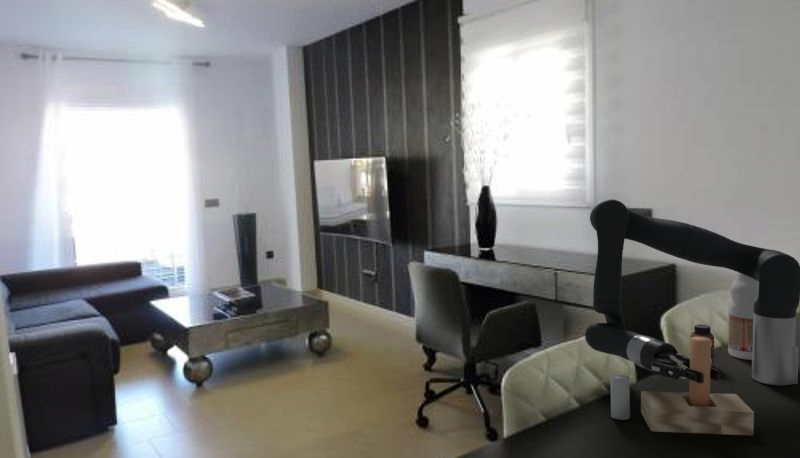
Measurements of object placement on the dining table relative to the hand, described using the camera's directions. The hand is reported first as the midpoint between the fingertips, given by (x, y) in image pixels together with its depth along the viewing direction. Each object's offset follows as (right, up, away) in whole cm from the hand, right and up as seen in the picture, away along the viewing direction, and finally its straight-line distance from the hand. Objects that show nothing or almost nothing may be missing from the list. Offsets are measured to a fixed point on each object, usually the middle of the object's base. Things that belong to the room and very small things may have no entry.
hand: (710, 377), depth 127 cm
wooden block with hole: (-1, -11, +4) cm, 12 cm away
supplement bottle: (+18, -7, +40) cm, 44 cm away
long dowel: (-1, -10, +4) cm, 11 cm away
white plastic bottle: (+35, -6, +47) cm, 59 cm away
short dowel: (-16, -11, +9) cm, 21 cm away
